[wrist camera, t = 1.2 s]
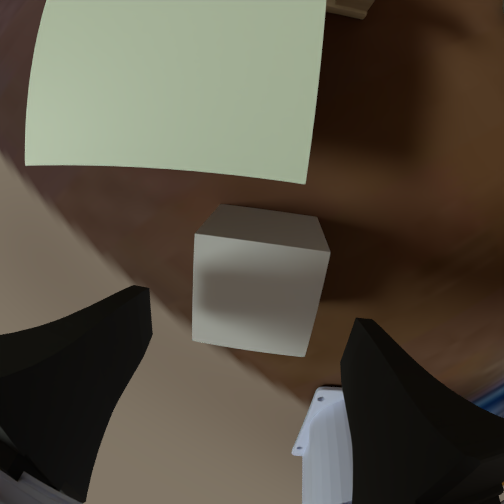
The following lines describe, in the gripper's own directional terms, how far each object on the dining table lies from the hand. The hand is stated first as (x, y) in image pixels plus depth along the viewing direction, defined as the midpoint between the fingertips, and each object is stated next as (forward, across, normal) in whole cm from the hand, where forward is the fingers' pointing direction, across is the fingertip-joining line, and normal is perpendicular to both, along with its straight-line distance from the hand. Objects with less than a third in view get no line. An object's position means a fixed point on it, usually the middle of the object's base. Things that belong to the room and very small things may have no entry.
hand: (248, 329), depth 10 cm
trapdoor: (+1, +4, -11) cm, 12 cm away
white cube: (+4, 0, 0) cm, 4 cm away
